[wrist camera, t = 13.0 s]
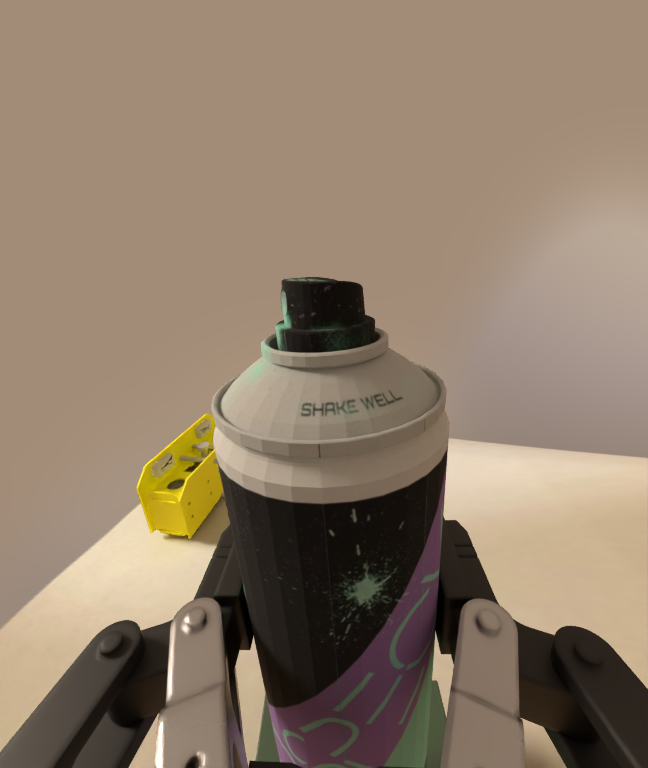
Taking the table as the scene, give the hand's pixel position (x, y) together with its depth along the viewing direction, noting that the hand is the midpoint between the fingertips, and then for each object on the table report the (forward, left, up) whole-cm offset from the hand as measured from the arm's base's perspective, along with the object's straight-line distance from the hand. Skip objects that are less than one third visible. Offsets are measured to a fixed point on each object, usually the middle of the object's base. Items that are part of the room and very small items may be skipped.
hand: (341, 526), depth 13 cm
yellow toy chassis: (+8, +31, -19) cm, 37 cm away
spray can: (-2, -2, -11) cm, 11 cm away
